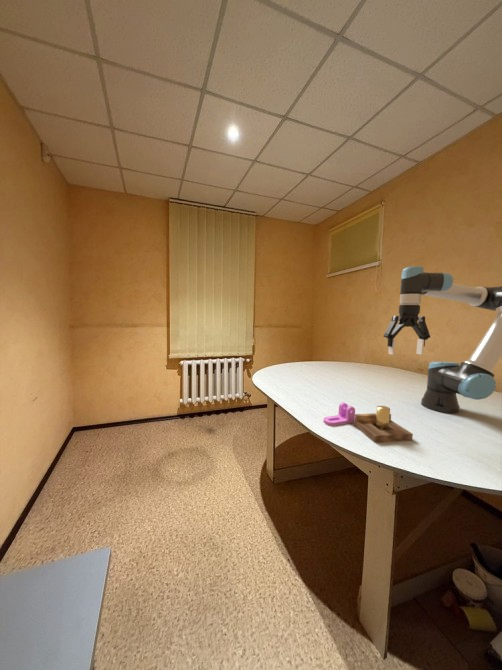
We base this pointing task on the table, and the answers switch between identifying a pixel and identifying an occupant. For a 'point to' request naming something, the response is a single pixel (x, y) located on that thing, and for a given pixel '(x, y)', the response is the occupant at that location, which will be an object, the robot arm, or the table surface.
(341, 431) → the table surface
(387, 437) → the frame
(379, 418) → the cylinder
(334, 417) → the bracket
